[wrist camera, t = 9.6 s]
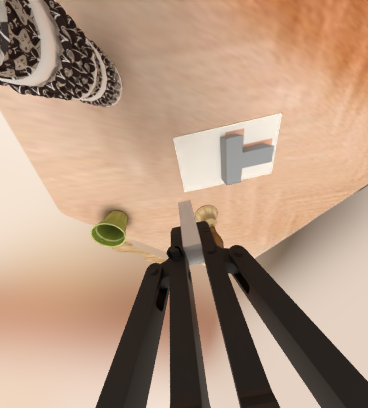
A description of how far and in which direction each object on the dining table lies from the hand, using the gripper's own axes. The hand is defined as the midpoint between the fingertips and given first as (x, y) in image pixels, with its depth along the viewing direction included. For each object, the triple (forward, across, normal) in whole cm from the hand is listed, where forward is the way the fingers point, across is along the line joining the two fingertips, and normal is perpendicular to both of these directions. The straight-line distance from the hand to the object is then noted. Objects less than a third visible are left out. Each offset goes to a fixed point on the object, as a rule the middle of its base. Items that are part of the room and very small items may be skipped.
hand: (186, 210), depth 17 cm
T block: (+24, +18, -3) cm, 30 cm away
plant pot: (+24, -24, -14) cm, 37 cm away
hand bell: (+24, +6, -22) cm, 33 cm away
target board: (+24, +14, -3) cm, 28 cm away
